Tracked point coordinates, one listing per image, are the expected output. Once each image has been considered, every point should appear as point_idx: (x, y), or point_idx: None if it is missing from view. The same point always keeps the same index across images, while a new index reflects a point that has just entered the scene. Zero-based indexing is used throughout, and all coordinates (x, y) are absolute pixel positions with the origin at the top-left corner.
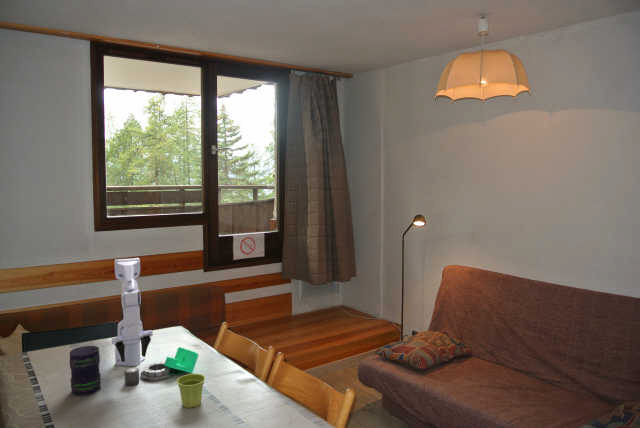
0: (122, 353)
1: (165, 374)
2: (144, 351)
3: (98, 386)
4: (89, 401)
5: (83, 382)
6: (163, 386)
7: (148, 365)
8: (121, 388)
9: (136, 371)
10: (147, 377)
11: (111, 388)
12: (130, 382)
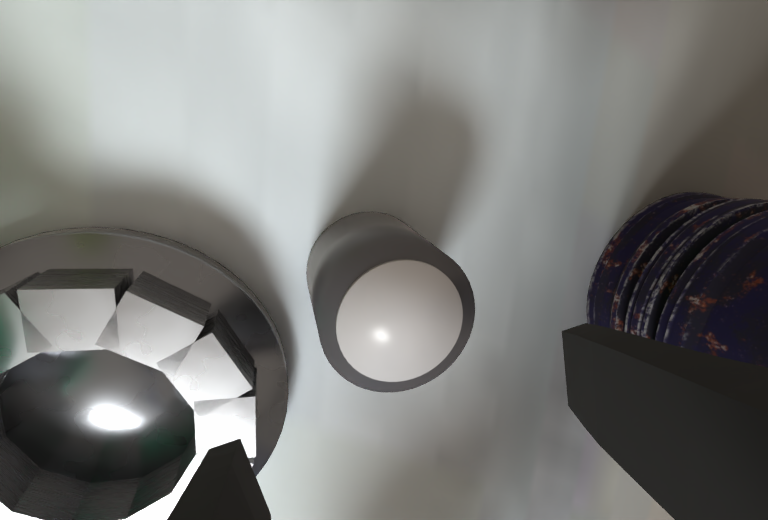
0: (757, 377)
1: (5, 287)
2: (206, 516)
3: (634, 253)
4: (701, 61)
5: None
6: (46, 35)
7: None
8: (460, 205)
9: (350, 274)
10: (224, 303)
11: (527, 243)
12: (396, 220)
